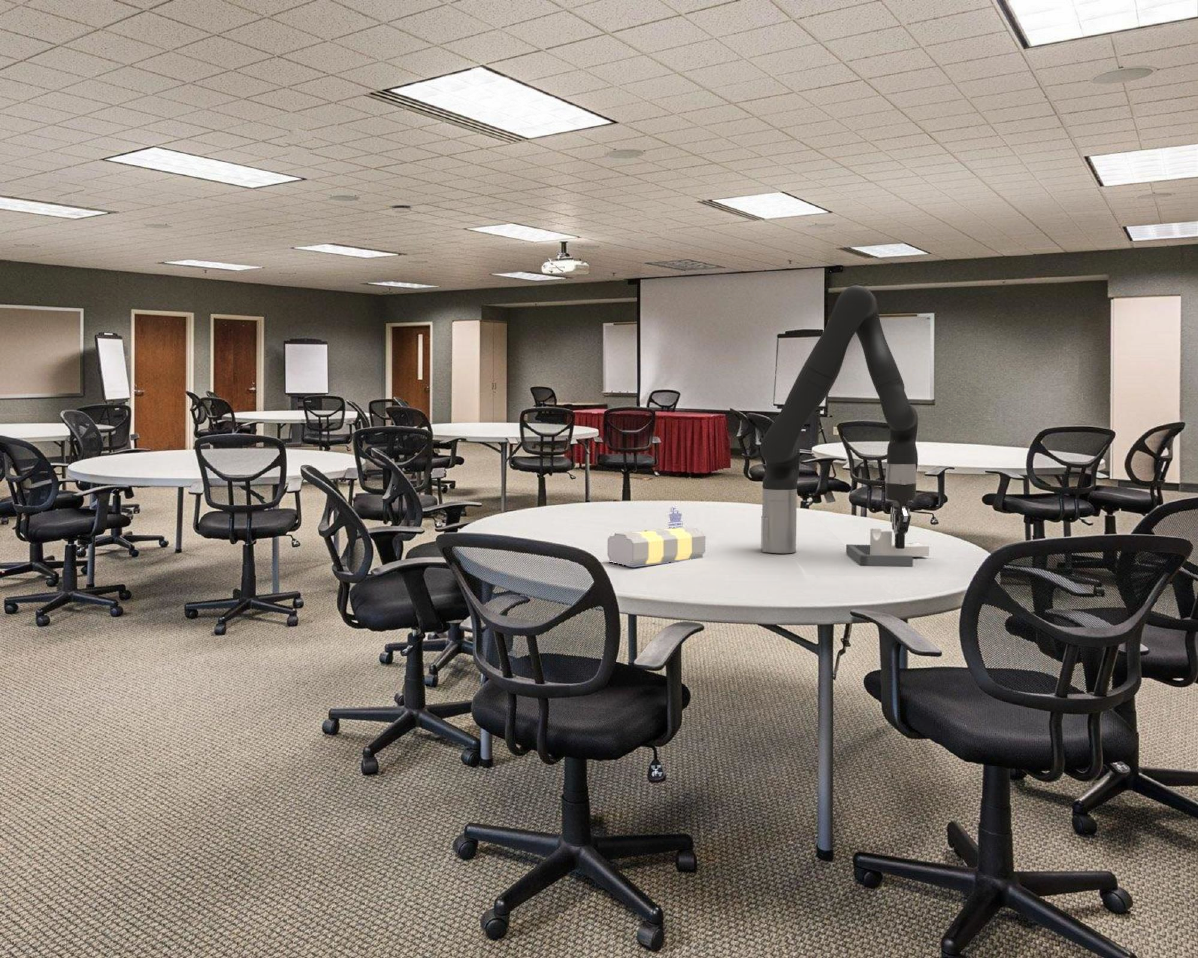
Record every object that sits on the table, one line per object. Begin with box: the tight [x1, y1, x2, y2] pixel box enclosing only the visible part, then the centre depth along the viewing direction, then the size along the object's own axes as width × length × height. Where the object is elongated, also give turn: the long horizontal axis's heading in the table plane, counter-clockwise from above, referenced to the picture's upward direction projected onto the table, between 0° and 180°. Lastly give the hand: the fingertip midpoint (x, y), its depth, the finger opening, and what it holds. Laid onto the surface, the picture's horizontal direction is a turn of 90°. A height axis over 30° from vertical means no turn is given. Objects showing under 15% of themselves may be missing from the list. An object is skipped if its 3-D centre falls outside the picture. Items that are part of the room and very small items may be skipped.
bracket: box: [869, 528, 930, 558], centre depth 239 cm, size 13×7×8 cm, turn 98°
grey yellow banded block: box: [607, 506, 706, 568], centre depth 236 cm, size 25×10×13 cm, turn 128°
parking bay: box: [845, 544, 914, 567], centre depth 235 cm, size 12×21×2 cm, turn 174°
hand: (899, 548), depth 234 cm, fingers closed
